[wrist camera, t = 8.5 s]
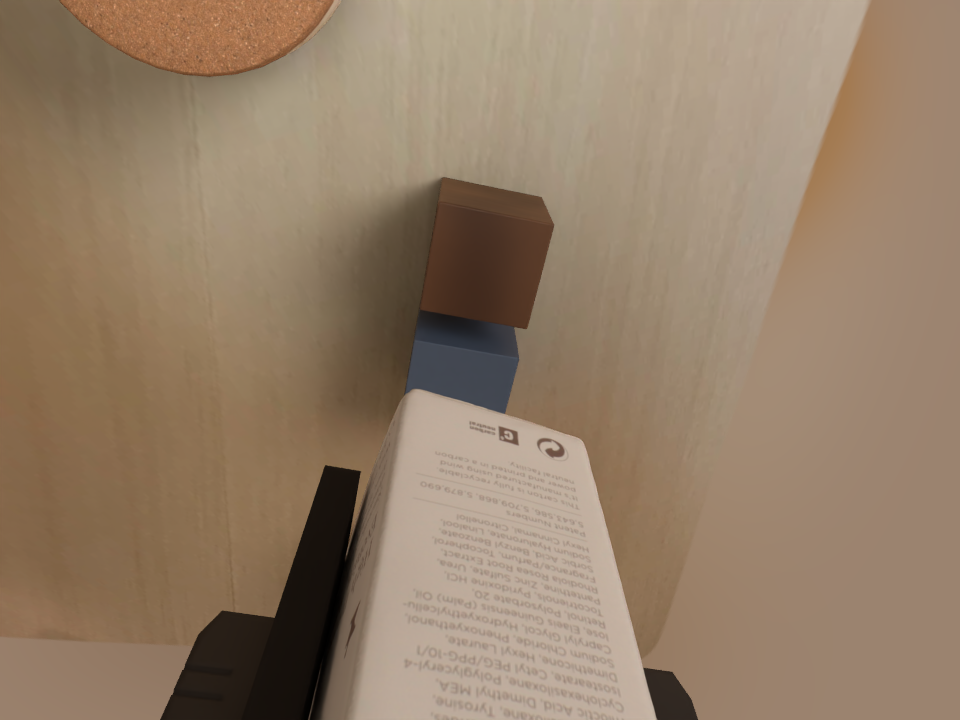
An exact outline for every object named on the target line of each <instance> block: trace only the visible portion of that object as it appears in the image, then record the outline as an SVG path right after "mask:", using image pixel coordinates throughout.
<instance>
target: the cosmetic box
mask: <svg viewBox="0 0 960 720" xmlns="http://www.w3.org/2000/svg"><path fill="white" fill-rule="evenodd" d="M309 720H657V718H656V715H655V711H654V707H653V704H652V700H651V697H650V693H649V690H648V686H647V682H646V678H645V674H644V670H643V666H642V662H641V658H640V654H639V650H638V647H637V643H636V639H635V635H634V631H633V627H632V623H631V619H630V615H629V611H628V607H627V604H626V600H625V596H624V593H623V589H622V584H621V580H620V577H619V573H618V569H617V565H616V561H615V558H614V554H613V550H612V546H611V542H610V538H609V534H608V530H607V527H606V523H605V519H604V515H603V511H602V508H601V505H600V502H599V497H598V493H597V488H596V484H595V481H594V478H593V474H592V471H591V467H590V462H589V458H588V455H587V451H586V448H585V445H584V443H583V442H582V440H581V439H579V438H577V437H574V436H571V435H567V434H564V433H561V432H558V431H555V430H552V429H549V428H547V427H544V426H541V425H537V424H534V423H532V422H529V421H526V420H523V419H520V418H516V417H512V416H509V415H505V414H502V413H499V412H496V411H492V410H488V409H486V408H483V407H480V406H476V405H473V404H470V403H467V402H463V401H460V400H456V399H452V398H449V397H445V396H442V395H438V394H435V393H432V392H428V391H425V390H421V389H412V390H411V391H410V392H408V393H406V394H405V396H404V397H403V398H402V400H401V401H400V403H399V405H398V407H397V410H396V412H395V414H394V417H393V419H392V421H391V424H390V426H389V429H388V431H387V434H386V436H385V438H384V441H383V443H382V446H381V448H380V451H379V454H378V456H377V459H376V462H375V464H374V467H373V470H372V472H371V475H370V478H369V481H368V484H367V487H366V490H365V493H364V496H363V499H362V502H361V505H360V509H359V512H358V515H357V518H356V522H355V525H354V529H353V532H352V535H351V539H350V542H349V546H348V549H347V553H346V559H345V564H344V568H343V573H342V577H341V581H340V585H339V590H338V594H337V598H336V602H335V607H334V611H333V615H332V620H331V624H330V629H329V633H328V637H327V642H326V646H325V651H324V655H323V659H322V664H321V668H320V672H319V677H318V681H317V685H316V689H315V694H314V698H313V702H312V707H311V711H310V715H309Z"/></svg>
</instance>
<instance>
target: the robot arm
mask: <svg viewBox="0 0 960 720" xmlns="http://www.w3.org/2000/svg"><path fill="white" fill-rule="evenodd" d="M360 472H361V471H356V470H350V469H344V468H338V467H332V466H327V465H325V467H324V470H323V474H322V477H321V480H320V483H319V486H318V489H317V492H316V495H315V498H314V501H313V504H312V507H311V510H310V513H309V516H308V519H307V522H306V525H305V528H304V531H303V534H302V537H301V540H300V543H299V546H298V549H297V552H296V555H295V558H294V561H293V564H292V567H291V570H290V573H289V576H288V579H287V583H286V586H285V589H284V592H283V595H282V598H281V601H280V604H279V607H278V610H277V613H276V616H275V618H271V617H264V616H257V615H250V614H243V613H236V612H228V611H221V612H220V613H219V614H218V615H217V616H216V617H215V618H214V619H213V620H212V621H211V622H210V623H209V624H208V625H207V626H206V627H205V628H204V629H203V630H202V631H201V632H200V633H199V635H198V637H197V639H196V641H195V644H194V646H193V648H192V650H191V653H190V655H189V657H188V659H187V662H186V664H185V668H184V670H182V673H181V675H180V677H179V679H178V682H177V684H176V686H175V688H174V693H173V695H171V697H170V700H169V702H168V704H167V706H166V708H165V710H164V713H163V715H162V717H161V719H160V720H309V715H310V711H311V707H312V702H313V698H314V694H315V689H316V685H317V681H318V677H319V672H320V668H321V664H322V659H323V655H324V651H325V646H326V642H327V637H328V633H329V629H330V624H331V620H332V615H333V611H334V607H335V602H336V598H337V594H338V590H339V585H340V581H341V577H342V573H343V568H344V564H345V559H346V553H347V548H348V542H349V536H350V530H351V524H352V519H353V513H354V507H355V501H356V496H357V490H358V484H359V478H360ZM643 670H644V674H645V678H646V682H647V686H648V690H649V693H650V697H651V700H652V704H653V707H654V711H655V715H656V718H657V720H698V719H697V716H696V712H695V709H694V706H693V703H692V700H691V698H690V697H689V695H688V694H687V693H686V691H685V690H684V688H683V687H682V686H681V684H680V683H679V681H678V680H677V678H676V677H675V675H674V674H673V672H669V671H662V670H655V669H648V668H643Z"/></svg>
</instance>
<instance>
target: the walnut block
mask: <svg viewBox="0 0 960 720" xmlns="http://www.w3.org/2000/svg"><path fill="white" fill-rule="evenodd" d="M553 228H554V223H553V221H552V219H551V217H550V215H549V213H548V210H547V208H546V206H545V204H544V202H543V199H542V198H541V197H537V196H532V195H528V194H523V193H518V192H513V191H508V190H503V189H498V188H493V187H489V186H484V185H479V184H474V183H469V182H464V181H459V180H454V179H450V178H445V177H443V178H442V182H441V187H440V193H439V199H438V205H437V210H436V216H435V222H434V227H433V233H432V239H431V245H430V250H429V256H428V262H427V267H426V273H425V279H424V285H423V291H422V297H421V303H420V310H424V311H429V312H435V313H440V314H446V315H451V316H457V317H462V318H468V319H473V320H479V321H484V322H490V323H495V324H501V325H507V326H512V327H518V328H523V329H527V327H528V323H529V320H530V316H531V312H532V308H533V304H534V301H535V297H536V293H537V289H538V285H539V282H540V278H541V274H542V270H543V266H544V263H545V259H546V255H547V251H548V247H549V244H550V240H551V236H552V232H553Z"/></svg>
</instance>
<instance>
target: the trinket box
mask: <svg viewBox="0 0 960 720" xmlns="http://www.w3.org/2000/svg"><path fill="white" fill-rule="evenodd" d="M59 1H60V2H61V3H62V4H63V5H64V6H65V7H66V8H67V9H68V10H69V11H70V12H71V13H72V14H73V15H74V16H75V17H76V18H77V19H78V20H79V21H80V22H81V23H82V24H83V25H84V26H86V27H87V28H88V29H90V30H91V31H92V32H93V33H95V34H96V35H97V36H99V37H100V38H101V39H103V40H104V41H105V42H107V43H108V44H110V45H111V46H113V47H115V48H116V49H118V50H120V51H122V52H123V53H125V54H127V55H129V56H130V57H132V58H134V59H137V60H139V61H141V62H144V63H146V64H149V65H151V66H154V67H156V68H159V69H163V70H167V71H171V72H175V73H179V74H183V75H195V76H207V77H211V76H222V75H233V74H239V73H242V72H246V71H250V70H253V69H257V68H260V67H263V66H265V65H267V64H269V63H271V62H273V61H275V60H277V59H279V58H281V57H283V56H285V55H287V54H289V53H291V52H293V51H295V50H297V49H298V48H299V47H301V46H302V45H303V44H305V43H306V42H307V41H309V40H310V39H311V38H313V37H314V36H315V35H316V33H317V32H318V31H319V30H320V29H321V28H322V27H323V26H324V25H325V24H326V23H327V22H328V21H329V19H330V18H331V16H332V15H333V13H334V12H335V10H336V9H337V7H338V6H339V4H340V3H341V1H342V0H59Z"/></svg>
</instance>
